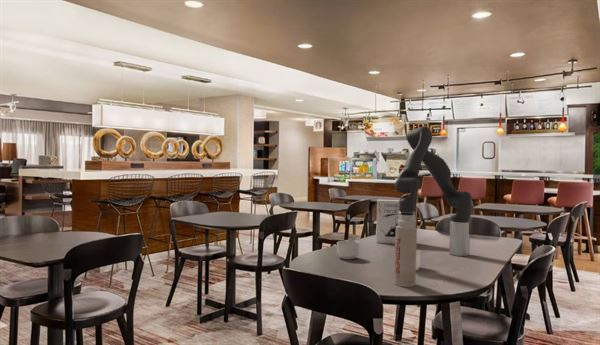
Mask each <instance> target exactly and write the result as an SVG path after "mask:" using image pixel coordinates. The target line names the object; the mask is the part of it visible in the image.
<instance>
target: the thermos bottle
mask: <svg viewBox="0 0 600 345" xmlns="http://www.w3.org/2000/svg"><path fill="white" fill-rule="evenodd" d="M400 214H401V216H400V220H398V222H397V223H398V226H396V239H395V244H394V246H395V248H394V249H395V250H394V252H395V254H394V255H395V256H394V274H393V275H394V278H393V281H394V282H393V283H394V285H396V286H398V287H403V288H404V287H405V288H411V287H414V286H416V275H417V274H416V273H417V272H416V271H417V270H416V250H417V242H418V241H417V240H418V238H417V236H418V235H417V234H418V228H417V226H416V225H417V224H416V220H415V221H414V220H413V213H411V212H401V213H400Z"/></svg>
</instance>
